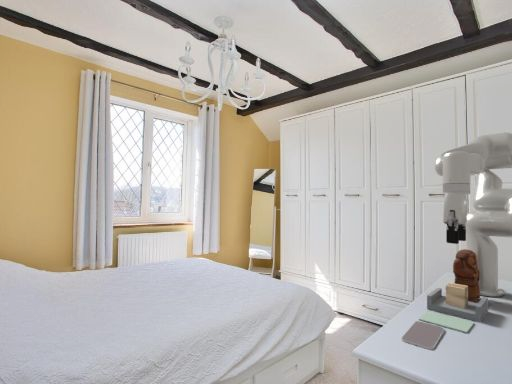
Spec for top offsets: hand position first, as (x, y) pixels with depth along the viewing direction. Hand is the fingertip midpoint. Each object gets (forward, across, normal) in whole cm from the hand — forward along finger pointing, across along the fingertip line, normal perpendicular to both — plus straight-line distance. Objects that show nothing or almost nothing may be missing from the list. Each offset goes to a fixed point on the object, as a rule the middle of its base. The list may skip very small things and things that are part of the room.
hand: (456, 241), depth 97 cm
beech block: (+20, 0, 0) cm, 20 cm away
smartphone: (+23, +27, -2) cm, 35 cm away
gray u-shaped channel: (+22, 0, 0) cm, 22 cm away
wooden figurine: (+22, -15, 0) cm, 27 cm away
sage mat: (+22, +13, 0) cm, 26 cm away
